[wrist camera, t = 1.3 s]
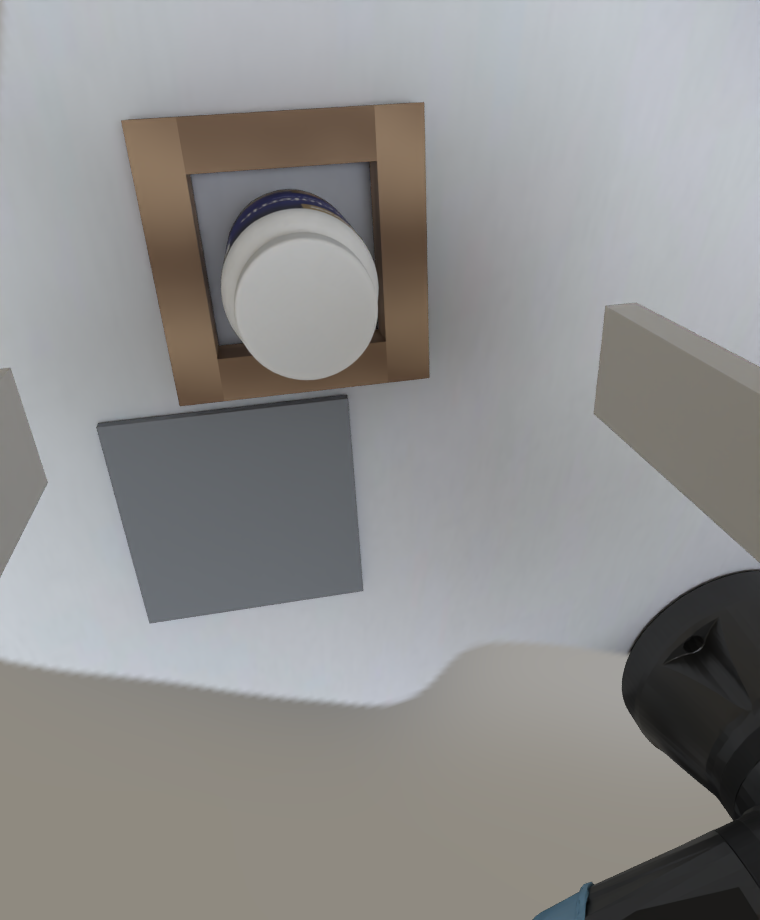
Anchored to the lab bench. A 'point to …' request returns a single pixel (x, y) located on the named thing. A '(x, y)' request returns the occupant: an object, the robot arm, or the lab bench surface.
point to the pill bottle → (299, 286)
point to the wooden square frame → (278, 146)
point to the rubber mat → (237, 505)
